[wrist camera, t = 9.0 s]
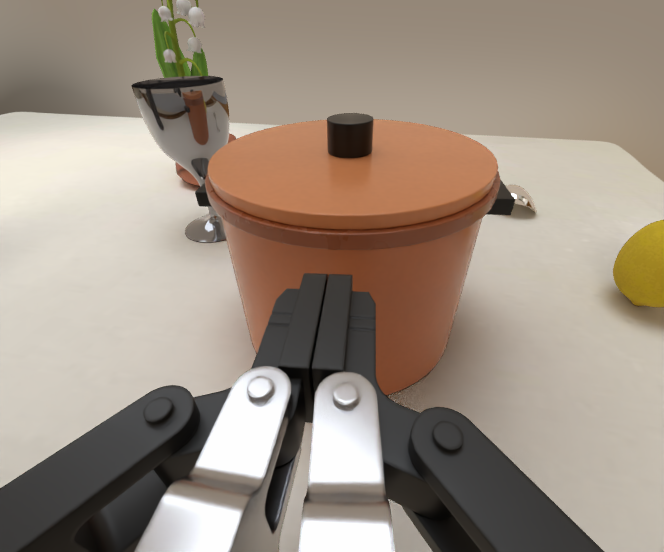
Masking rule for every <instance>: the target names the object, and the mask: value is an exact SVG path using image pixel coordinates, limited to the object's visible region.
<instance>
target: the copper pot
mask: <svg viewBox="0 0 664 552" xmlns="http://www.w3.org/2000/svg"><path fill="white" fill-rule="evenodd" d="M207 170H208V173H207V174H206V179H205V183H204V184H203V185H202V186H201V187H200V188H199V189H198V190H197V191H196V192H195V194H196V197H197V201H198V204H199V206H210V207H213V209H214V210H215V211H216V213H217V214H218V215H219V216H220V217H221V219H222V223H223V228H224V232H225V236H226V240H227V244H228V248H229V252H230V256H231V260H232V264H233V268H234V272H235V276H236V280H237V284H238V288H239V292H240V296H241V300H242V305H243V309H244V313H245V317H246V321H247V325H248V329H249V333H250V337H251V341H252V345H253V347H254V349H255V351H256V354H257V352H258V349H259V346H260V344H261V341H262V338H263V335H264V332H265V330H266V327H267V325H268V321H269V318H270V316H271V315H272V310H273V307H274V304H275V302H276V299H277V298H278V297H279V296H280V295H281V294H282V293H283V292H284V291H285V290H286V289H287V288H289V289H300V285H301V282H302V278H303V275H304V273H318V274H328V277H329V274H345V275H353V291H357V292H369V293H370V295H371V297H372V298H373V300H374V302H375V303H376V379H377V383H378V385H379V387H380V389H381V390H382V392H383V393H384V394H385V395H389V394H392V393H394V392H397V391H400V390H403V389H405V388H406V387H408V386H410V385H412V384H414V383H416V382H417V381H419V380H420V379H421V378H423V377H424V376H426V375H427V374H428V373H429V372H430V371H431V370H432V369H433V368H434V367H435V366H436V364H437V363H438V361H439V360H440V359H441V357H442V355H443V353H444V351H445V349H446V347H447V343H448V339H449V336H450V332H451V329H452V325H453V321H454V318H455V314H456V311H457V307H458V303H459V300H460V296H461V293H462V289H463V286H464V282H465V278H466V275H467V271H468V268H469V264H470V260H471V257H472V253H473V250H474V246H475V242H476V239H477V235H478V232H479V228H480V224H481V221H482V218H483V217H484V216H485V215H486V214H493V215H511V212H512V209H513V206H514V203H515V198H514V197H513V195H512V194H511V193H510V192H509V190H508V189H507V188H506V186H505V185H504V184H503V182H502V181H501V180H500V176H499V172H498V171H497V170H498V164H497V160H496V158H495V157H494V155H493V153H492V152H491V151H489V150H488V149H487V148H486V147H485V146H483V145H482V144H480V143H479V142H477V141H475V140H473V139H471V138H469V137H466V136H464V135H461V134H458V133H455V132H452V131H449V130H445V129H441V128H437V127H433V126H428V125H423V124H417V123H411V122H402V121H393V120H392V121H391V120H379V119H373V117H371V116H369V115H365V114H358V113H344V114H337V115H333V116H330V117H328V118H327V120H318V121H309V122H301V123H293V124H287V125H282V126H277V127H273V128H268V129H264V130H261V131H257V132H254V133H251V134H248V135H245V136H243V137H240V138H238V139H236V140H234V141H232V142H230V143H228V144H226V145H225V146H223V147H222V148H220V149H219V150H218V151H217V152H216V153H215V154H214V155H213V156H212V157H211V159H210V161H209V163H208V169H207Z"/></svg>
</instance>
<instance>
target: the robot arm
mask: <svg viewBox="0 0 664 552" xmlns="http://www.w3.org/2000/svg"><path fill="white" fill-rule="evenodd" d="M305 422H308V423H313V427H312V439H311V452H310V465H309V478H308V489H307V494H306V497H305V499H304V504H303V511H302V519H301V531H300V542H299V552H395V549H394V539H393V528H392V519H391V511H390V505H389V501H388V499H390V500H392V501H394V502H396V503H398V504H400V505H402V507H403V509H404V510H405V512H406V514H407V515H408V516H409V518H410V519H411V521H412V522H413V524H414V525H415V527H416V528H417V529H418V531H419V532H420V534H421V535H422V537H423V538H424V539H425V541H426V542H427V544H428V545H429V547H430V548H431V550H432V551H433V552H604V551H603V550H602V549H601V548H600V547H599V546H598V545H597V544H596V543H595V542H594V541H593V540H592V539H591V538H590V537H589V536H588V535H587V534H586V533H585V532H584V531H583V530H582V529H580V528H579V527H578V526H577V525H576V524H575V523H574V522H573V521H572V520H571V519H570V518H569V517H568V516H567V515H566V514H565V513H564V512H563V511H562V510H561V509H560V508H559V507H558V506H557V505H556V504H555V503H554V502H553V501H552V500H551V499H550V498H549V497H548V496H547V495H546V494H545V493H544V492H543V491H542V490H541V489H540V488H539V487H538V486H536V485H535V484H534V483H533V482H532V481H531V480H530V479H529V478H528V477H527V476H526V475H525V474H524V473H523V472H522V471H521V470H520V469H519V468H518V467H517V466H516V465H515V464H514V463H513V462H512V461H511V460H510V459H509V458H508V457H507V456H506V455H505V454H504V453H503V452H502V451H501V450H500V449H499V448H498V447H497V446H496V445H495V444H494V443H493V442H491V441H490V440H489V439H488V438H487V437H486V436H485V435H484V434H483V433H482V432H481V431H480V430H479V429H478V428H477V427H476V426H475V425H474V424H473V423H472V422H471V421H470V420H469V419H468V418H466V417H465V416H464V415H462V414H461V413H459V412H457V411H455V410H452V409H449V408H444V407H434V408H429V409H426V410H424V411H423V412H421V413H419V412H416V411H414V410H411V409H409V408H406V407H403V406H401V405H399V404H397V403H395V402H394V401H392V400H391V399H389V398H388V397H387V396H386V395H385V394H384V393H383V392H382V390H381V389H380V387H379V385H378V383H377V379H376V303H375V302H374V300H373V298H372V297H371V295H370V293H369V292H357V291H353V275H345V274H329V277H328V274H318V273H304V275H303V278H302V282H301V285H300V289H289V288H287V289H286V290H285V291H284V292H283V293H282V294H281V295H280V296H279V297H278V298H277V299H276V302H275V304H274V307H273V310H272V315H271V316H270V318H269V321H268V325H267V327H266V330H265V332H264V335H263V338H262V341H261V344H260V346H259V349H258V352H257V355H256V358H255V360H254V363H253V366H252V368H251V370H249V371H247V372H245V373H244V374H242V375H241V376H240V377H239V378H238V379H237V380H236V382H235V383H234V385H233V387H231V388H229V389H226V390H224V391H220V392H216V393H211V394H207V395H202V396H198V397H193V396H192V395H191V393H190V392H189V391H188V390H187V389H185V388H184V387H181V386H175V385H171V386H164V387H161V388H158V389H155V390H153V391H151V392H149V393H148V394H146V395H145V396H143V397H141V398H140V399H138V400H137V401H135V402H134V403H132V404H131V405H129V406H127V407H126V408H124V409H123V410H121V411H120V412H118V413H117V414H115V415H114V416H112V417H110V418H109V419H107V420H106V421H104V422H103V423H101V424H100V425H98V426H96V427H95V428H93V429H92V430H90V431H89V432H87V433H86V434H84V435H82V436H81V437H79V438H78V439H76V440H75V441H73V442H72V443H70V444H69V445H67V446H65V447H64V448H62V449H61V450H59V451H58V452H56V453H55V454H53V455H51V456H50V457H48V458H47V459H45V460H44V461H42V462H41V463H39V464H37V465H36V466H34V467H33V468H31V469H30V470H28V471H27V472H25V473H24V474H22V475H20V476H19V477H17V478H16V479H14V480H13V481H11V482H10V483H8V484H6V485H5V486H3V487H2V488H0V552H279V542H280V535H281V530H282V526H283V522H284V518H285V514H286V510H287V506H288V502H289V498H290V494H291V490H292V486H293V482H294V478H295V474H296V470H297V466H298V462H299V458H300V453H301V442H302V436H303V431H304V425H305Z"/></svg>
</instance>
